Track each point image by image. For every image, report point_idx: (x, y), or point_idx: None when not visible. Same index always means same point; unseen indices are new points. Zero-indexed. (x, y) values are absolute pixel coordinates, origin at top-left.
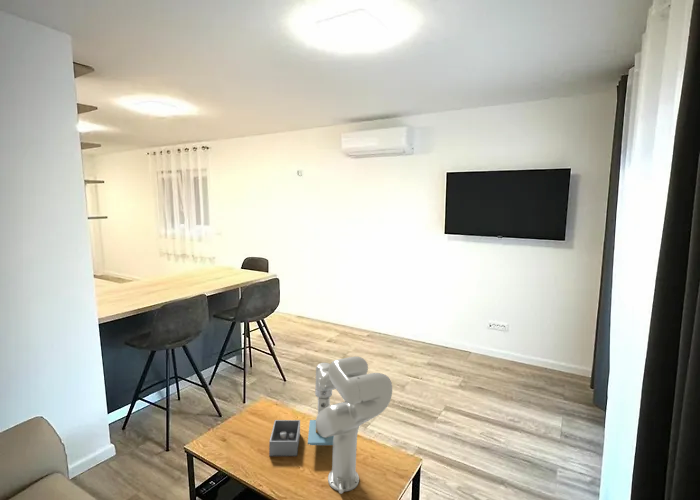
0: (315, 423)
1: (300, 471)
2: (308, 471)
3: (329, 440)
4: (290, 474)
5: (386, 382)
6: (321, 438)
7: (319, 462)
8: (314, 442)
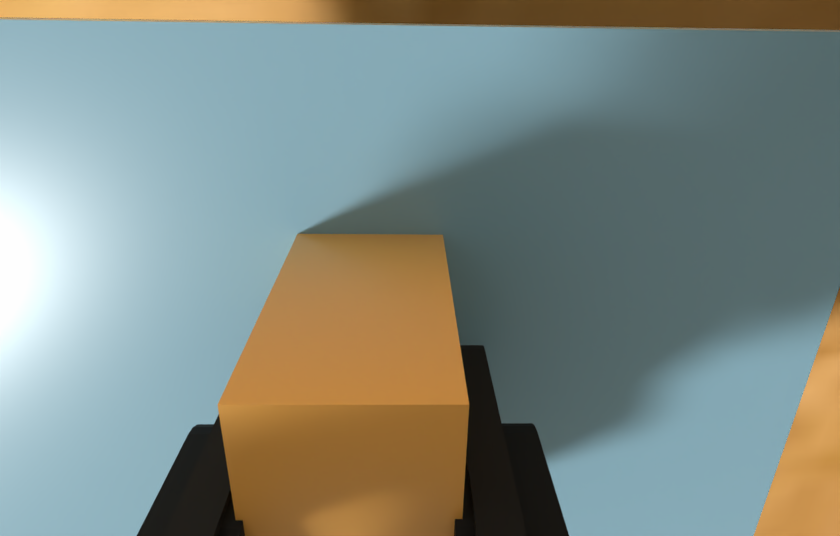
0: (113, 518)
1: (795, 445)
2: (822, 371)
3: (780, 225)
4: (809, 521)
5: None
6: (657, 397)
7: None
8: (756, 510)
